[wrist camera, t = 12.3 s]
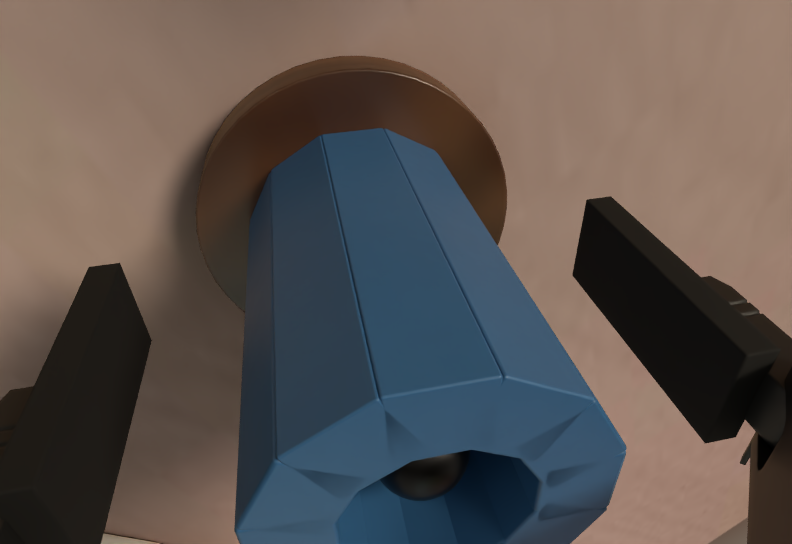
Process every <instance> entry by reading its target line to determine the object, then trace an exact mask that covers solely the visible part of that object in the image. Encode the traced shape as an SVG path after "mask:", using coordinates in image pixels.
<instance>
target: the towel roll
mask: <svg viewBox="0 0 792 544" xmlns="http://www.w3.org/2000/svg"><path fill="white" fill-rule="evenodd" d="M467 450H470V457H469V463H468V465H467V468H466V471H465V473H464V475H463V476H462V478H461V480H460V481H459V482H458V483H457V485H456V486H455V487H454V488H453V489H452V490H450V491H449V492H447V493H446V494H444V495H443V496H441V497H438V498H436V499H432V500H427V501H413V500H408V499H405V498H402V497H400V496H398V495H396V494H394V493H392V492H391V491H390V490H389V489H387V488H386V487H385V486H384V485H383V484H382V483H381V481H380V480H379V479H381V478H383V477H385V476H386V475H388V474H390V473H392V472H394V471H395V470H397V469H399V468H401V467H403V466H404V465H406V464H408V463H410V462H411V461H416V460H421V459H426V458H431V457H437V456H442V455H447V454H452V453H457V452H462V451H467ZM625 450H626V445H625V443H624V442H623V440H622V438H621V437H620V435H619V434H618V432H617V431H616V429H615V427H614V426H613V424H612V423H611V421H610V419H609V418H608V416H607V415H606V413H605V411H604V410H603V408H602V407H601V405H600V404H599V402H598V400H597V399H596V397H595V396H594V394H593V393H592V391H591V390H590V388H589V386H588V385H587V383H586V382H585V380H584V379H583V377H582V376H581V374H580V372H579V371H578V369H577V368H576V366H575V365H574V363H573V362H572V360H571V359H570V357H569V355H568V354H567V352H566V351H565V349H564V348H563V346H562V345H561V343H560V342H559V340H558V338H557V337H556V335H555V334H554V332H553V331H552V329H551V328H550V326H549V324H548V323H547V321H546V320H545V318H544V317H543V315H542V314H541V312H540V311H539V309H538V307H537V306H536V304H535V303H534V301H533V300H532V298H531V297H530V295H529V294H528V292H527V290H526V289H525V287H524V286H523V284H522V283H521V281H520V280H519V278H518V277H517V275H516V273H515V272H514V270H513V269H512V267H511V266H510V264H509V263H508V261H507V259H506V258H505V256H504V255H503V253H502V252H501V250H500V249H499V247H498V246H497V244H496V242H495V241H494V239H493V238H492V236H491V235H490V233H489V232H488V230H487V229H486V227H485V225H484V224H483V222H482V221H481V219H480V218H479V216H478V215H477V213H476V212H475V210H474V208H473V207H472V205H471V204H470V202H469V201H468V199H467V198H466V196H465V194H464V193H463V191H462V190H461V188H460V187H459V185H458V184H457V182H456V181H455V179H454V177H453V176H452V174H451V173H450V171H449V170H448V168H447V167H446V165H445V164H444V162H443V160H442V159H441V157H440V156H439V154H438V153H436V151H435V150H433V149H431V148H428V147H426V146H424V145H422V144H419V143H417V142H415V141H413V140H410V139H408V138H406V137H403V136H401V135H399V134H397V133H394V132H392V131H390V130H388V129H383V128H376V129H367V130H358V131H349V132H340V133H331V134H323V135H322V136H318V137H317V138H315V139H314V140H312V141H311V142H310V143H308V144H307V145H305V146H304V147H303V148H301V149H300V150H298V151H297V152H296V153H294V154H293V155H291V156H290V157H289V158H287V159H286V160H284V161H283V162H281V163H280V164H279V165H277V166H276V167H274V168H273V169H272V170H271V173H270V174H269V175H268V177H267V180H266V182H265V185H264V187H263V190H262V192H261V194H260V197H259V199H258V202H257V204H256V206H255V209H254V211H253V214H252V216H251V219H250V225H249V245H248V266H247V286H246V306H245V326H244V347H243V367H242V387H241V408H240V428H239V448H238V469H237V489H236V509H235V533H236V535H237V538H238V540H239V543H240V544H570V543H571V542H572V541H574V540H575V539H576V538H577V537H578V536H579V535H580V534H581V533H582V532H583V531H584V530H585V529H586V528H588V527H589V526H590V525H591V524H592V523H593V522H594V521H595V520H596V519H597V518H598V517H599V516H601V515H602V514H603V513H604V512H605V511H606V509H607V508H606V507H607V506H608V505H609V503H610V500H611V497H612V494H613V491H614V488H615V485H616V482H617V479H618V476H619V473H620V470H621V467H622V464H623V461H624V458H625V455H626V451H625Z"/></svg>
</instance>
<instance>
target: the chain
mask: <svg viewBox="0 0 792 544" xmlns="http://www.w3.org/2000/svg"><path fill="white" fill-rule="evenodd" d="M101 544H160V543H156V542H151V541H145V540H139V539H133V538H127V537H122V536H116V535H110V534H104V533H103V537H102V541H101Z"/></svg>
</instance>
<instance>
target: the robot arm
mask: <svg viewBox="0 0 792 544" xmlns="http://www.w3.org/2000/svg"><path fill="white" fill-rule="evenodd" d="M573 277H574V278H575V279H576V280H577V282H578V283H579V284H580V285H581V287H582V288H583V289H584V290H585V292H586V293H587V294H588V296H589V297H590V298H591V299H592V301H593V302H594V303H595V304H596V306H597V307H598V308H599V309H600V311H601V312H602V313H603V315H604V316H605V317H606V318H607V320H608V321H609V322H610V323H611V325H612V326H613V327H614V328H615V330H616V331H617V332H618V334H619V335H620V336H621V337H622V339H623V340H624V341H625V342H626V344H627V345H628V346H629V347H630V349H631V350H632V351H633V353H634V354H635V355H636V356H637V358H638V359H639V360H640V361H641V363H642V364H643V365H644V366H645V368H646V369H647V370H648V372H649V373H650V374H651V375H652V377H653V378H654V379H655V380H656V382H657V383H658V384H659V385H660V387H661V388H662V389H663V390H664V392H665V393H666V394H667V396H668V397H669V398H670V399H671V401H672V402H673V403H674V404H675V406H676V407H677V408H678V409H679V411H680V412H681V413H682V415H683V416H684V417H685V418H686V420H687V421H688V422H689V423H690V425H691V426H692V427H693V428H694V430H695V431H696V432H697V434H698V435H699V436H700V437H701V439H702V440H703V441H704V442H705V443H710V442H714V441H719V440H724V439H729V438H734V437H736V435H737V433H738V431H739V430H740V428H741V426H742V424H743V422H744V420H746V421H747V422H748V423H749V424H750V425H751V426H752V427H753V429H754V430H755V431H756V432H755V434H754V436H753V438H752V440H751V441H750V443H749V445H748V447H747V449H746V451H745V452H744V454H743V456H742V458H741V461H740V464H743V465H746V463H747V461H748V459H749V458H750V483H749V508H748V534H747V544H792V339H791V338H790V337H789V336H788V335H787V334H786V333H785V332H783V331H782V330H781V329H780V328H779V327H778V326H776V325H775V324H774V323H773V322H772V321H771V320H769V319H768V318H767V317H766V316H765V315H764V314H760V313H759V310H758V309H757V308H755V307H754V306H753V305H752V304H751V303H747V300H746V299H745V298H744V297H743V296H741V295H740V294H739V293H738V292H737V291H736V290H734V289H733V288H732V287H731V286H729V285H727V284H725V283H723V282H721V281H719V280H717V279H715V278H713V277H711V276H708V277H700V276H699V275H698V274H696V273H695V272H694V271H693V270H692V269H691V268H690V267H689V266H688V265H686V264H685V263H684V262H683V261H682V260H681V259H680V258H679V257H678V256H676V255H675V254H674V253H673V252H672V251H671V250H670V249H669V248H668V247H666V246H665V245H664V244H663V243H662V242H661V241H660V240H659V239H657V238H656V237H655V236H654V235H653V234H652V233H651V232H650V231H649V230H647V229H646V228H645V227H644V226H643V225H642V224H641V223H640V222H639V221H637V220H636V219H635V218H634V217H633V216H632V215H631V214H630V213H629V212H627V211H626V210H625V209H624V208H623V207H622V206H621V205H620V204H619V203H617V202H616V201H615V200H614V199H613V198H612V197H604V198H596V199H589V200H587V201H586V206H585V211H584V217H583V222H582V227H581V233H580V238H579V243H578V248H577V254H576V259H575V264H574V270H573ZM151 341H152V340H151V338H150V335H149V333H148V330H147V328H146V325H145V323H144V321H143V318H142V316H141V313H140V311H139V308H138V306H137V304H136V301H135V299H134V296H133V294H132V291H131V289H130V287H129V284H128V282H127V279H126V277H125V274H124V272H123V270H122V267H121V265H120V263H116V264H109V265H101V266H94V267H89V268H88V270H87V272H86V275H85V277H84V279H83V281H82V283H81V285H80V288H79V290H78V292H77V294H76V296H75V298H74V301H73V303H72V305H71V307H70V309H69V311H68V314H67V316H66V318H65V320H64V322H63V324H62V327H61V329H60V331H59V333H58V335H57V337H56V340H55V342H54V344H53V346H52V348H51V350H50V353H49V355H48V357H47V359H46V361H45V363H44V366H43V368H42V370H41V372H40V374H39V376H38V379H37V381H36V383H35V385H34V386H33V387H27V388H20V389H14V390H10V391H9V392H8V393H7V394H6V395H5V396H4V397H3V398H2V399H1V401H0V544H101V541H102V537H103V533H104V529H105V525H106V521H107V517H108V513H109V509H110V505H111V501H112V497H113V493H114V489H115V485H116V481H117V477H118V473H119V469H120V465H121V461H122V457H123V453H124V449H125V445H126V441H127V437H128V433H129V429H130V425H131V421H132V417H133V413H134V409H135V405H136V401H137V397H138V393H139V389H140V385H141V381H142V377H143V373H144V369H145V365H146V361H147V357H148V353H149V349H150V345H151Z"/></svg>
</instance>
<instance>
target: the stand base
mask: <svg viewBox="0 0 792 544" xmlns="http://www.w3.org/2000/svg"><path fill="white" fill-rule="evenodd" d="M376 128H383V129H388V130H390V131H392V132H394V133H397V134H399V135H401V136H403V137H406V138H408V139H410V140H413V141H415V142H417V143H419V144H422V145H424V146H426V147H428V148H431V149H433V150H435V151H436V153H438V154H439V156H440V157H441V159H442V160H443V162H444V164H445V165H446V167H447V168H448V170H449V171H450V173H451V174H452V176H453V177H454V179H455V181H456V182H457V184H458V185H459V187H460V188H461V190H462V191H463V193H464V194H465V196H466V198H467V199H468V201H469V202H470V204H471V205H472V207H473V208H474V210H475V212H476V213H477V215H478V216H479V218H480V219H481V221H482V222H483V224H484V225H485V227H486V229H487V230H488V232H489V233H490V235H491V236H492V238H493V239H494V241H495V242H496V244H497V245H498V243H499V240H500V237H501V234H502V230H503V227H504V222H505V215H506V209H507V187H506V179H505V173H504V169H503V165H502V162H501V158H500V155H499V153H498V151H497V149H496V146H495V144H494V142H493V140H492V138H491V137H490V135H489V134H488V132H487V131H486V129H485V127H484V126H483V124H482V123H481V122H480V121H479V120H478V119H477V118H476V116H475V115H474V114H473V113H472V112H471V111H470V110H469V109H468V108H467V106H466V105H465V104H464V103H463V102H462V101H461V100H460V99H459V98H458V97H457V96H456V95H455V94H454V93H453V92H452V91H451V90H449V89H448V88H447V87H446V86H445V85H443V84H442V83H441V82H439V81H438V80H436V79H434V78H433V77H431V76H429V75H428V74H426V73H424V72H422V71H420V70H418V69H415V68H413V67H411V66H408V65H406V64H403V63H399V62H395V61H391V60H388V59H384V58H375V57H367V56H339V57H333V58H326V59H320V60H315V61H312V62H309V63H306V64H302V65H299V66H296V67H294V68H291V69H289V70H287V71H285V72H283V73H281V74H278V75H276V76H274V77H273V78H271V79H270V80H268V81H267V82H265V83H264V84H262V85H260V86H259V87H257V88H256V89H255V90H254V91H252V92H251V93H250V94H249V95H248V96H247V97H246V98H244V99H243V100H242V101H241V102H240V103H239V104H238V105H237V106H236V108H235V109H234V110H233V111H232V112H231V113H230V115H229V116H228V117H227V118H226V119H225V121H224V123H223V124H222V126H221V127H220V129H219V131H218V132H217V134H216V135H215V137H214V140H213V142H212V144H211V146H210V149H209V151H208V153H207V156H206V160H205V164H204V168H203V172H202V176H201V180H200V185H199V189H198V195H197V204H196V226H197V234H198V239H199V244H200V248H201V251H202V254H203V257H204V259H205V262H206V264H207V267H208V268H209V270H210V272H211V274H212V275H213V277H214V279H215V281H216V282H217V284H218V285H219V286H220V288H221V289H222V290H223V291H224V293H225V294H226V295H227V296H228V297H229V298H230V299H231V300H232V301H233V302H234V303H235V304H236V305H237V306H238V307H239V308H240V309H241V310H242V311H244V312H245V306H246V286H247V266H248V245H249V225H250V219H251V216H252V214H253V211H254V209H255V206H256V204H257V202H258V199H259V197H260V194H261V192H262V190H263V187H264V185H265V182H266V180H267V177H268V175H269V174H270V173H271V170H272V169H273V168H274V167H276V166H277V165H279V164H280V163H281V162H283V161H284V160H286V159H287V158H289V157H290V156H291V155H293V154H294V153H296V152H297V151H298V150H300V149H301V148H303V147H304V146H305V145H307V144H308V143H310V142H311V141H312V140H314V139H315V138H317V137H318V136H322V135H323V134H331V133H340V132H349V131H358V130H367V129H376Z"/></svg>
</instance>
